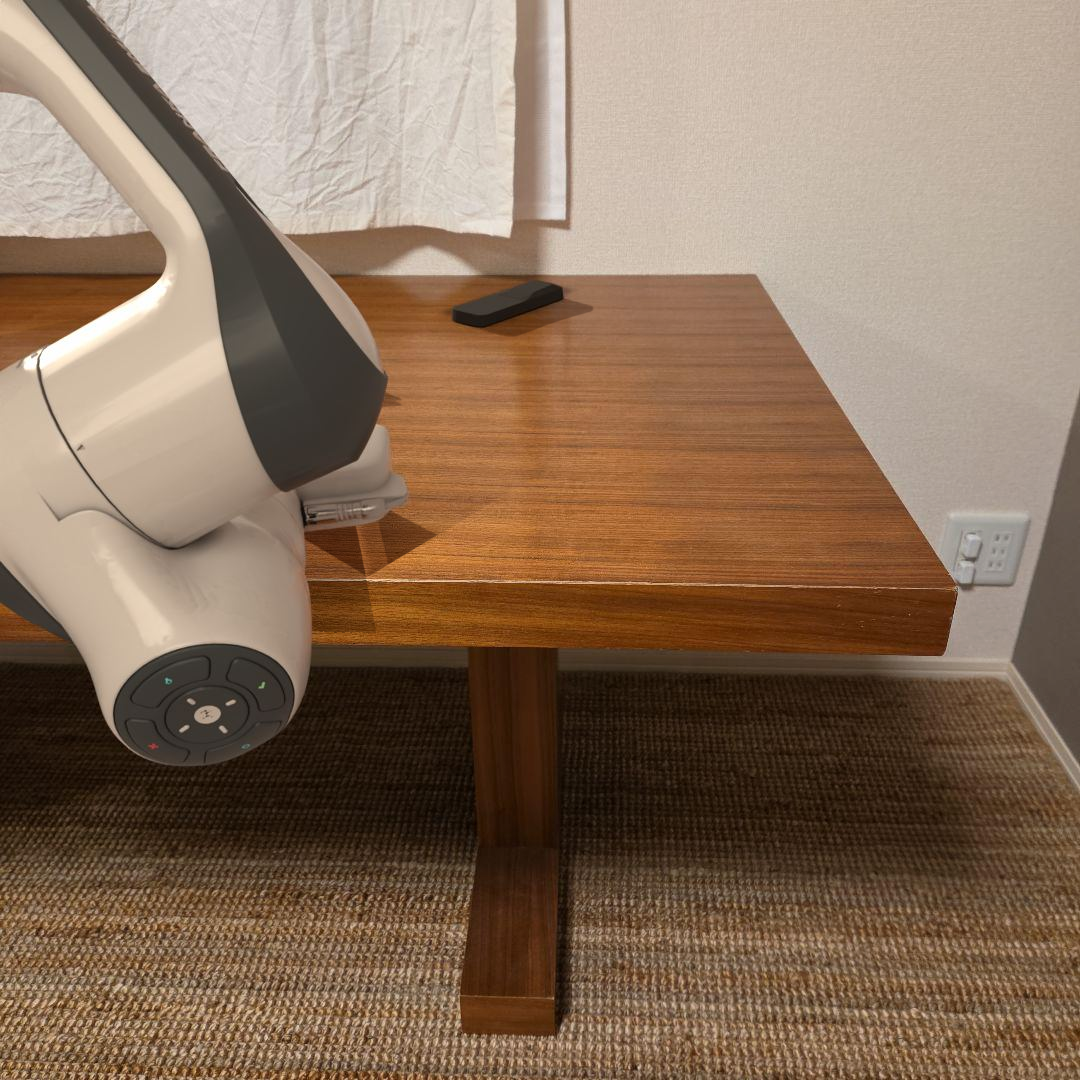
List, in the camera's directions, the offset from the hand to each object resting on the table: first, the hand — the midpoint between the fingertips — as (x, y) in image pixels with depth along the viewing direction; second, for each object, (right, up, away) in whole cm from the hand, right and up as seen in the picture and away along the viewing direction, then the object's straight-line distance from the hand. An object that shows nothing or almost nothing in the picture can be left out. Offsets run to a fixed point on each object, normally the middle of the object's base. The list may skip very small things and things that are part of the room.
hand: (224, 432), depth 65 cm
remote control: (+17, +19, +49) cm, 55 cm away
